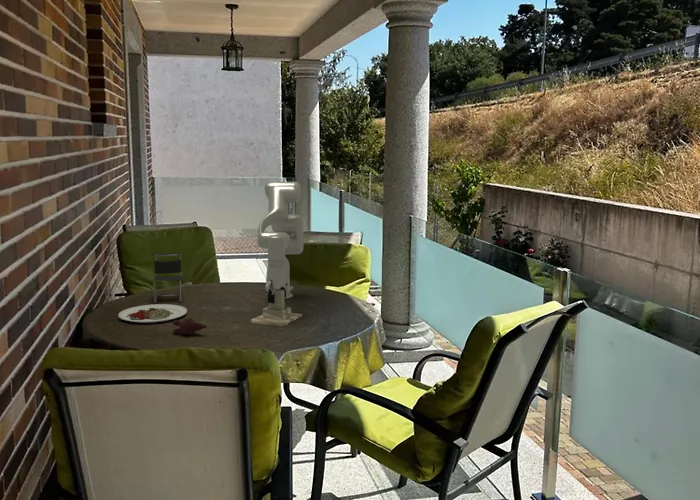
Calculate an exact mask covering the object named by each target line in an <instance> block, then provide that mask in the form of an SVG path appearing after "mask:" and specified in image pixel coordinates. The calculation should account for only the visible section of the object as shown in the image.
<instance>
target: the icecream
mask: <svg viewBox="0 0 700 500" xmlns="http://www.w3.org/2000/svg"><path fill="white" fill-rule="evenodd" d="M172 325H173V326H175V327H179V328H175V329H173V330H172V333H173V334H174V335H178V334H183V335H188V336H192V335H194V333H196V332H198V331H201V330H203V329H206V328H207V325H206V324H202V323H200V322H198V321H195V320H193V319H192V318H191V317H190V318H187V319H184V320H182V321H180V320H179V319H173V321H172Z"/></svg>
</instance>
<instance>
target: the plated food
mask: <svg viewBox="0 0 700 500" xmlns="http://www.w3.org/2000/svg"><path fill="white" fill-rule="evenodd" d="M144 310H145V311H144ZM187 313H188V309H187V308H186V307H185V306H181V305H177V304H171V303H170V304H169V303H168V304H166V303H164V304H163V303H161V304H160V303H158V304H157V303H155V304H144V305H137V306H133V307H129V308H126V309H123V310H121V311H120V312H119V313H118V315H117V316H118V318H119V319H120V320H124V321H126V322H127V321H128V322H134V323H140V324H141V323H143V324H151V323H163V322H168V321H171V320H176V319H177V318H181V317H183V316H184V315H187ZM129 314H130V315H129ZM128 315H129V316H128ZM127 316H128V317H127Z"/></svg>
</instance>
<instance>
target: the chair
mask: <svg viewBox="0 0 700 500" xmlns="http://www.w3.org/2000/svg"><path fill="white" fill-rule="evenodd" d="M181 255H182V254H181V253H179V252H178V253H156V254H154V255H153V258H154V259H153V260H154V263H153V264H154V278H153V283H152V287H153V302H154V303H155V304H157V303H158V299H159V298H160V297H159V296H161V297H176V296H177V297H178V302H179V303H181V302H182V299H183V294H182V286H181V281H182V258H181V257H182V256H181ZM167 256H169V257H170V256H171V257H172V256H173V257H175V256H178V260H172V261H162V260H161V261H158V260H157V257H167ZM158 274H178V275H176V276H175V275H174V276H158ZM157 281H159V282H166V281H167V282H169V281H170V282H171V281H177V282H178V287H177V288H178V293H164V294H163V293H161V294H157V290H156V288H157V287H156V285H157V284H156V282H157Z"/></svg>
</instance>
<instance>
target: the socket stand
mask: <svg viewBox="0 0 700 500" xmlns="http://www.w3.org/2000/svg"><path fill="white" fill-rule="evenodd" d="M303 315H304V314H302V313H294V312H292V306H285V309H284V310H282V311H279V310H271V309H269V306H266V307H265V308H262V314H261V315H258V316H256V317H255V318H251V319H250V323H251V324H252V323H253V324H260V325H267V326H274V327H281V328H283V327H285V326H288V325H289V324H291V323H293V322H295V321H297V320H299V319H301V318H303V317H302V316H303ZM300 317H301V318H300ZM298 318H299V319H298ZM296 319H297V320H296ZM294 320H295V321H294ZM292 321H293V322H292ZM290 322H291V323H290ZM288 323H289V324H288Z"/></svg>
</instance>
